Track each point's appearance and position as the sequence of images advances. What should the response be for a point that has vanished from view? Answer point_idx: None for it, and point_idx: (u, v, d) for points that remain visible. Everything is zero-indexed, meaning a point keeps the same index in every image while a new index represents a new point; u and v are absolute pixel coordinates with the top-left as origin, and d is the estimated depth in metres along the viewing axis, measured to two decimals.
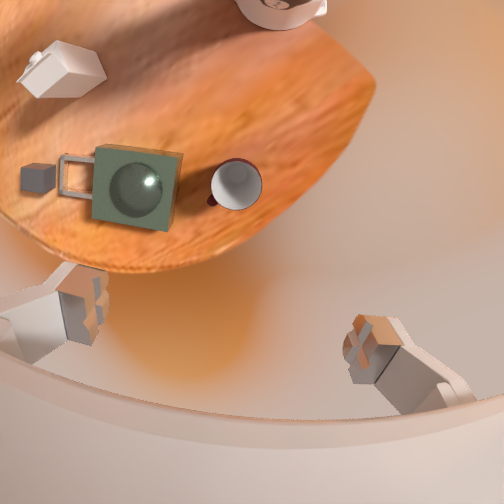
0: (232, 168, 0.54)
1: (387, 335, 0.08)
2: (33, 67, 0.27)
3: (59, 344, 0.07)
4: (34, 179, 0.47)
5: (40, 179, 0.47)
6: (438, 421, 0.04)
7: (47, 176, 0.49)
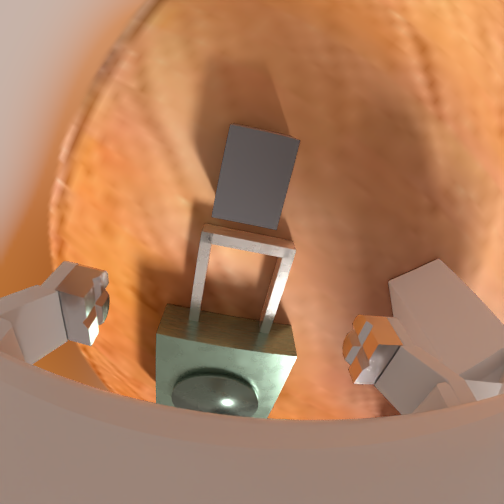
0: None
1: (387, 335, 0.08)
2: None
3: (59, 344, 0.07)
4: (255, 189, 0.21)
5: (253, 213, 0.22)
6: (438, 421, 0.04)
7: None
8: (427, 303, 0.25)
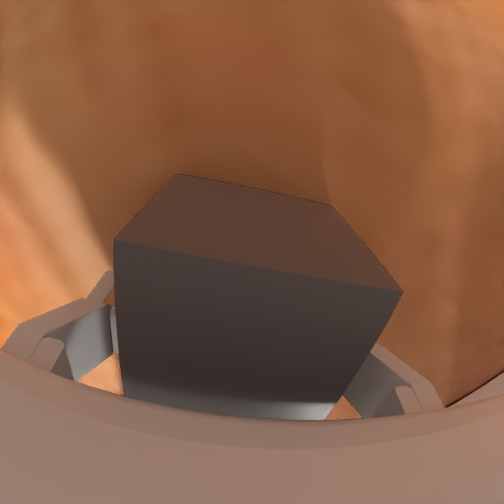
0: None
1: None
2: None
3: (104, 358, 0.07)
4: None
5: None
6: (438, 421, 0.04)
7: None
8: None
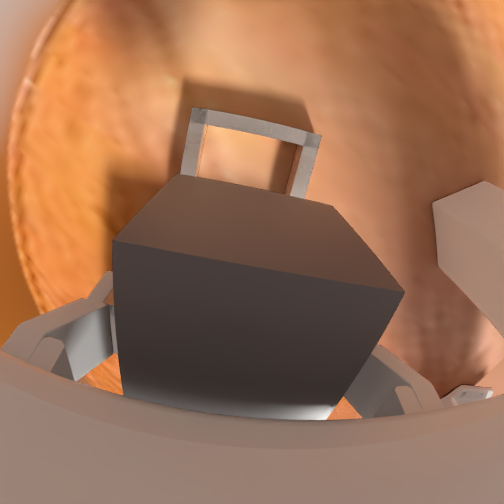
0: None
1: None
2: None
3: (104, 358, 0.07)
4: None
5: None
6: (438, 421, 0.04)
7: None
8: (489, 218, 0.17)
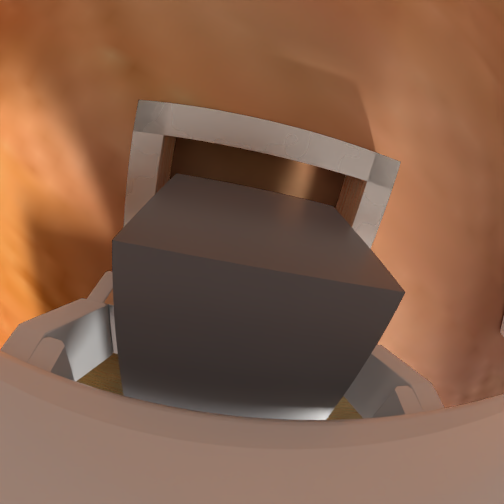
0: None
1: None
2: None
3: (104, 358, 0.07)
4: None
5: None
6: (438, 421, 0.04)
7: None
8: None
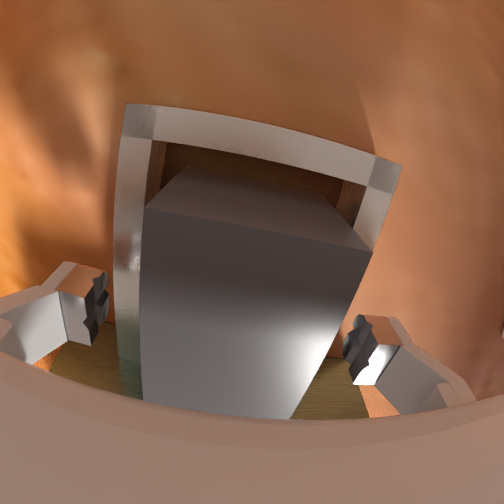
0: None
1: (387, 335, 0.08)
2: None
3: (59, 344, 0.07)
4: (236, 372, 0.08)
5: (233, 408, 0.09)
6: (438, 421, 0.04)
7: None
8: None
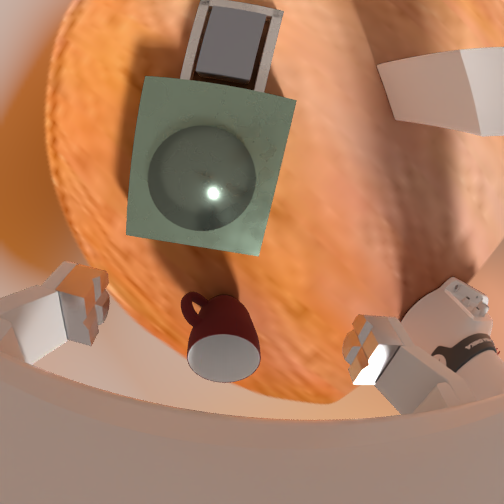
0: None
1: (387, 335, 0.08)
2: None
3: (59, 344, 0.07)
4: (231, 48, 0.22)
5: (230, 66, 0.23)
6: (438, 421, 0.04)
7: (230, 77, 0.24)
8: None
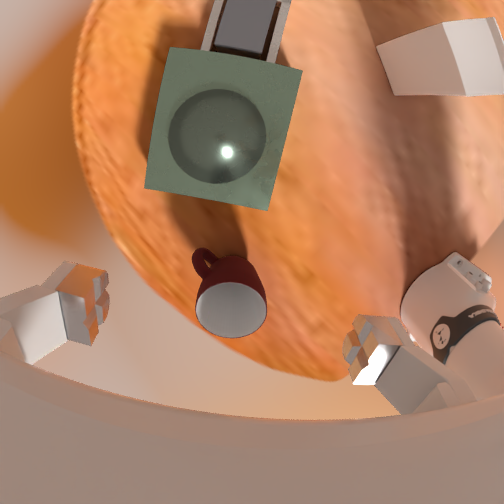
0: None
1: (387, 335, 0.08)
2: None
3: (59, 344, 0.07)
4: (246, 25, 0.24)
5: (244, 41, 0.25)
6: (438, 421, 0.04)
7: (244, 51, 0.26)
8: None
